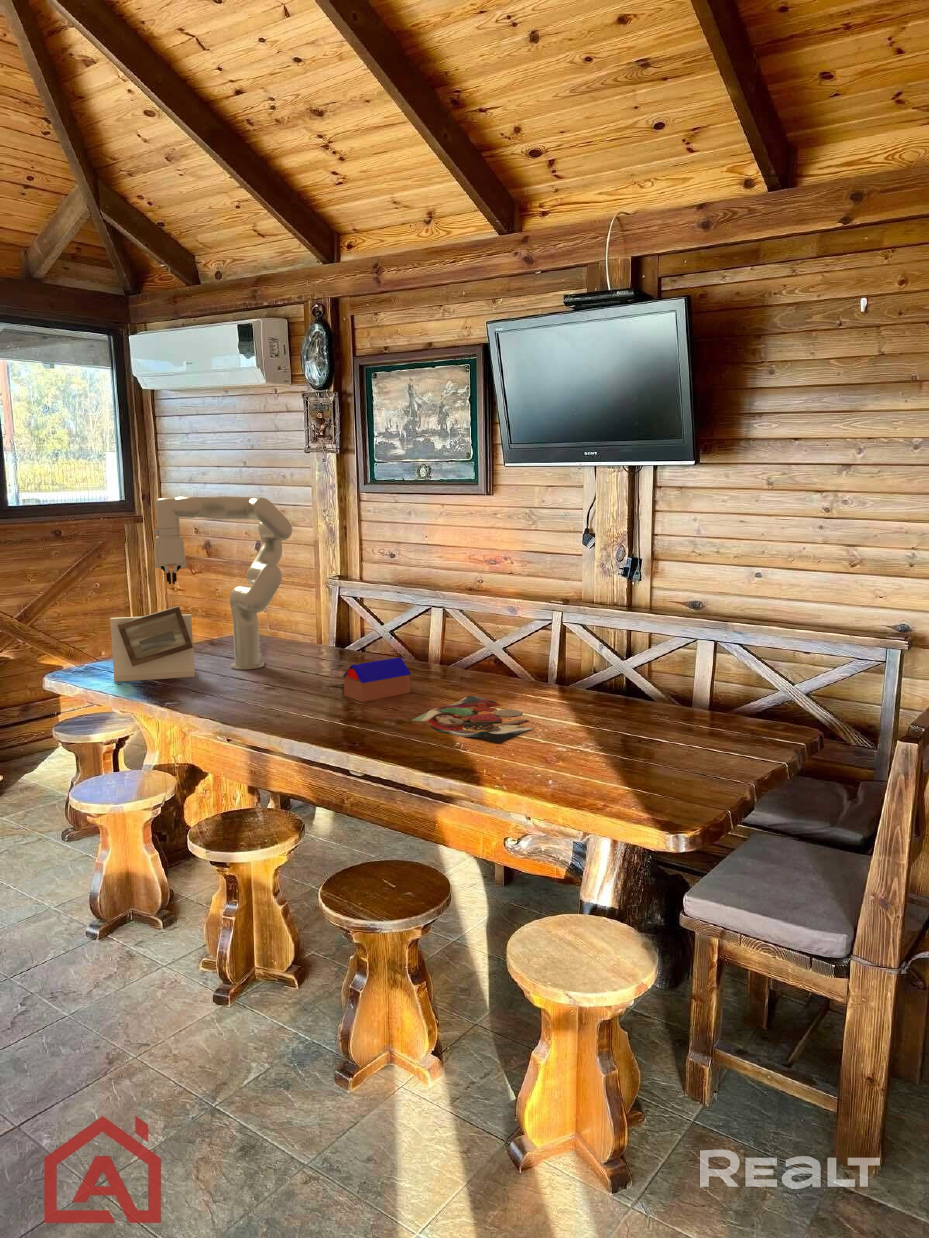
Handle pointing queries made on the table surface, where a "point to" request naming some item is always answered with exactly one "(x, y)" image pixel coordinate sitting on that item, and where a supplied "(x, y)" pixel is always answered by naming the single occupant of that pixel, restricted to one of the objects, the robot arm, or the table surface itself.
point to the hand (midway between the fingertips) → (171, 583)
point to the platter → (474, 720)
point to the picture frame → (155, 636)
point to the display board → (154, 669)
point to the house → (377, 680)
